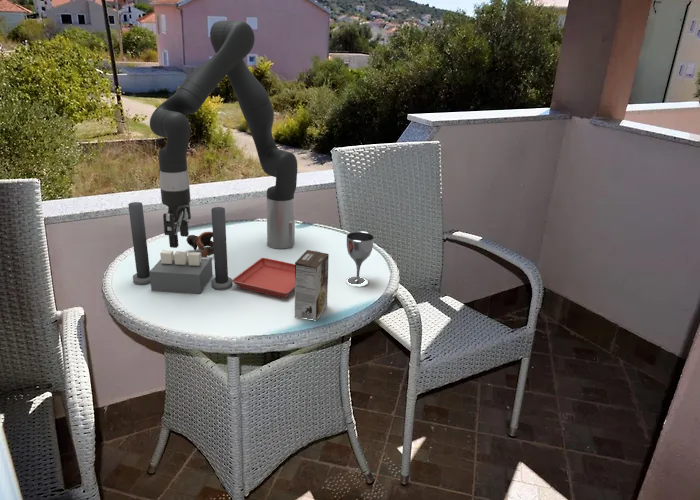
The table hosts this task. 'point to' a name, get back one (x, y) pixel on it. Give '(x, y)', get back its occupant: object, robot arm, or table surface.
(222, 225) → the post
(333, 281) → the table surface
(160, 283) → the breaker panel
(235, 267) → the table surface
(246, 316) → the table surface
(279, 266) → the plant saucer
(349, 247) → the wine glass
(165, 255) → the paddles
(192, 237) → the brown curved piece
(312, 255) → the coffee box
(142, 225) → the post
